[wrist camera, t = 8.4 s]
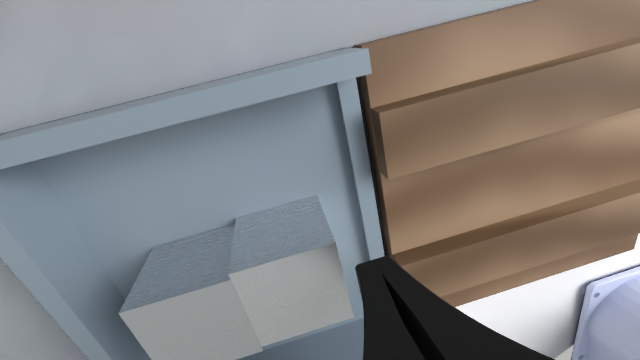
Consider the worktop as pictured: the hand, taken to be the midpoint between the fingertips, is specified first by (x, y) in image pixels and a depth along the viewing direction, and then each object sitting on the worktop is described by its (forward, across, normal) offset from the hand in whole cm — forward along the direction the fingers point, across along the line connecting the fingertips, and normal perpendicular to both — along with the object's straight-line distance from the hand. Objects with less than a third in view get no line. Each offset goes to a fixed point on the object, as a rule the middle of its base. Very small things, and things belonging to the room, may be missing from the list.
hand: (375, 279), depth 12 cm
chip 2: (+4, +3, 0) cm, 5 cm away
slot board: (+5, -10, 0) cm, 11 cm away
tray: (+5, +6, 0) cm, 7 cm away
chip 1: (+4, +7, 0) cm, 8 cm away
